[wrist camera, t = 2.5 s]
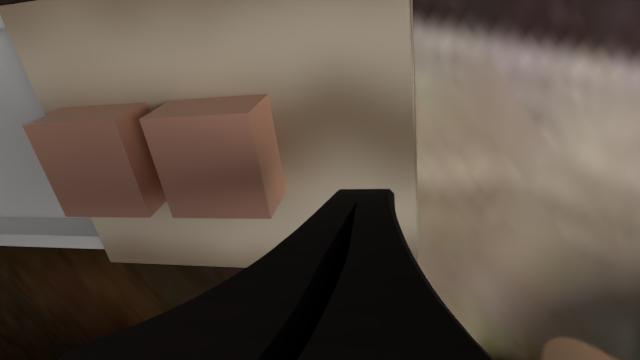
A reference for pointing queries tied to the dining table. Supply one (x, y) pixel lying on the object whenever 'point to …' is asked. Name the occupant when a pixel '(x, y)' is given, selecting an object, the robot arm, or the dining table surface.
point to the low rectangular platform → (240, 80)
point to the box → (29, 170)
